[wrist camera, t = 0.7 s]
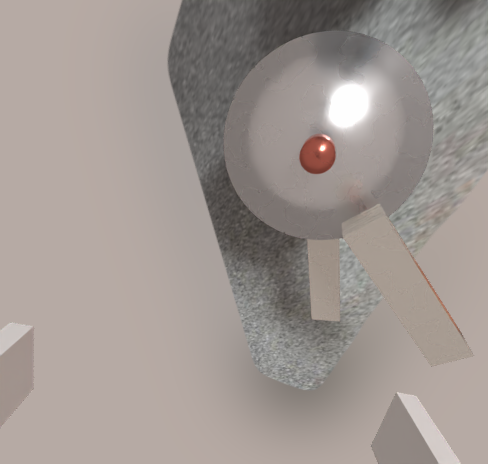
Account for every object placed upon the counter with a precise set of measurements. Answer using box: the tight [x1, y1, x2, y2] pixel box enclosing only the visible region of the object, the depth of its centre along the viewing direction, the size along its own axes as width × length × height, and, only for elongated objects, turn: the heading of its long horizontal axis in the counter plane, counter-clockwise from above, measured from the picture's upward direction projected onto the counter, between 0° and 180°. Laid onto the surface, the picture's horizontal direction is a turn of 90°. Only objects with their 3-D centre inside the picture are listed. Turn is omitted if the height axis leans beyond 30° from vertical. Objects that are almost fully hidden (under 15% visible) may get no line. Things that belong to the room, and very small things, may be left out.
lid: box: [223, 31, 473, 366], centre depth 23 cm, size 28×15×4 cm, turn 38°
